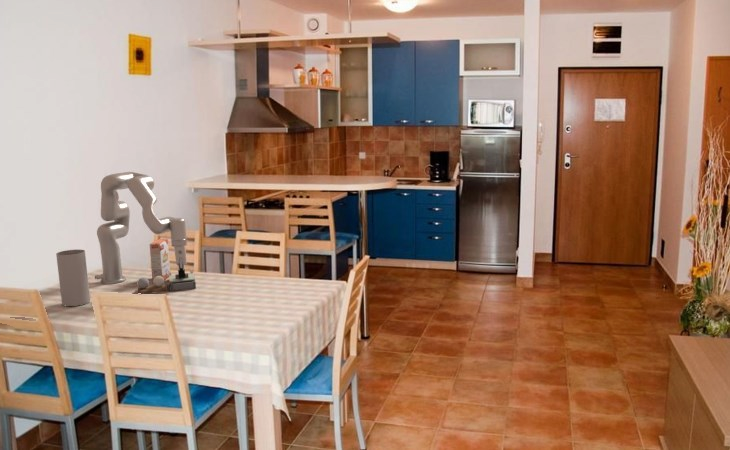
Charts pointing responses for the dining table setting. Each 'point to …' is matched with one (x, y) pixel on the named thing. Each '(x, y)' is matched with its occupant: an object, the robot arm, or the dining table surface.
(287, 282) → the dining table surface
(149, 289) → the board
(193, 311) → the dining table surface
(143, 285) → the grey matte ball
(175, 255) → the robot arm
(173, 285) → the bin
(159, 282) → the cream matte ball
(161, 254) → the cracker box
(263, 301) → the dining table surface
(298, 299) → the dining table surface
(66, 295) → the cylinder vase
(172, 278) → the lid
